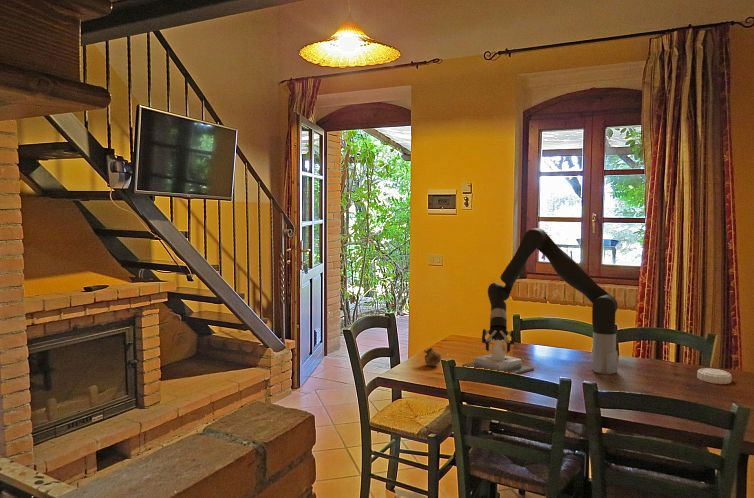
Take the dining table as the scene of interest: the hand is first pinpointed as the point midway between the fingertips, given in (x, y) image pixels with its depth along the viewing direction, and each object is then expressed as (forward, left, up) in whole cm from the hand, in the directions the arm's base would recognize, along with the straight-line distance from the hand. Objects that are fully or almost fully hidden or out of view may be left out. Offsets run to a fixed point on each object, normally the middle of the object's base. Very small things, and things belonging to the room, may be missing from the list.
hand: (497, 351), depth 238 cm
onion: (+21, +20, -8) cm, 30 cm away
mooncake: (-62, -62, -9) cm, 88 cm away
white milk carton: (+1, -1, -7) cm, 8 cm away
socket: (+1, -1, -8) cm, 8 cm away
